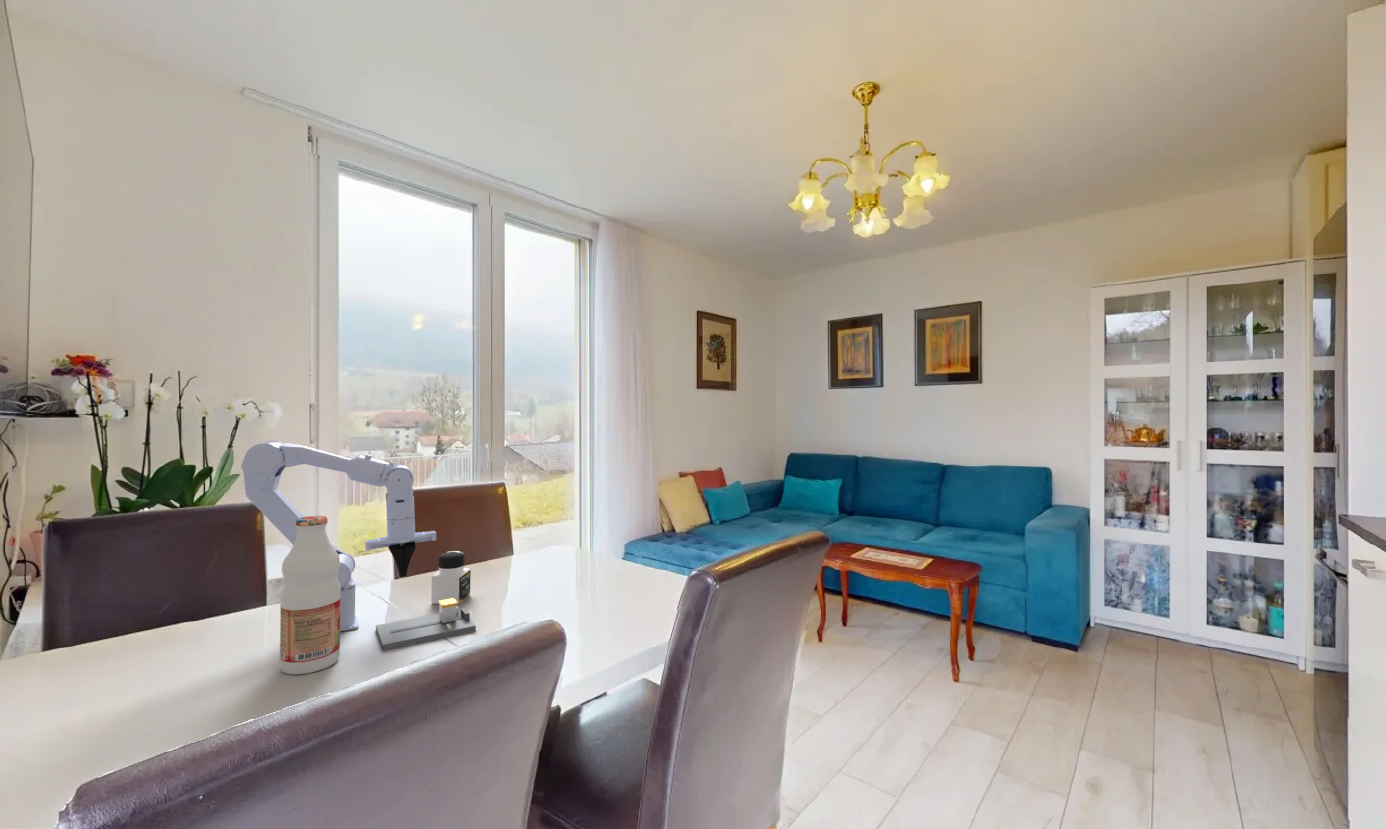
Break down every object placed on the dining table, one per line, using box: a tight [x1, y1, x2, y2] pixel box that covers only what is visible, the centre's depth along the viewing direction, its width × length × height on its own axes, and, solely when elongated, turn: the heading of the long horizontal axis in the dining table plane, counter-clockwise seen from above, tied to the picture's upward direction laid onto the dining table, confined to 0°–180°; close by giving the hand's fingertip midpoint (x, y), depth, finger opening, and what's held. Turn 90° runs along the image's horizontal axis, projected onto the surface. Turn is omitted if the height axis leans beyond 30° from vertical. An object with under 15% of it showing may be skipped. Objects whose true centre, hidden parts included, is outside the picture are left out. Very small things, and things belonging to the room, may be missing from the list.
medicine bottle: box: [430, 550, 472, 605], centre depth 142 cm, size 7×7×12 cm
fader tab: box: [438, 598, 458, 623], centre depth 124 cm, size 3×4×4 cm
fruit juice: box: [279, 515, 341, 676], centre depth 105 cm, size 9×9×28 cm
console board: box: [375, 605, 477, 651], centre depth 122 cm, size 18×12×3 cm, turn 126°
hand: (402, 575), depth 129 cm, fingers closed
